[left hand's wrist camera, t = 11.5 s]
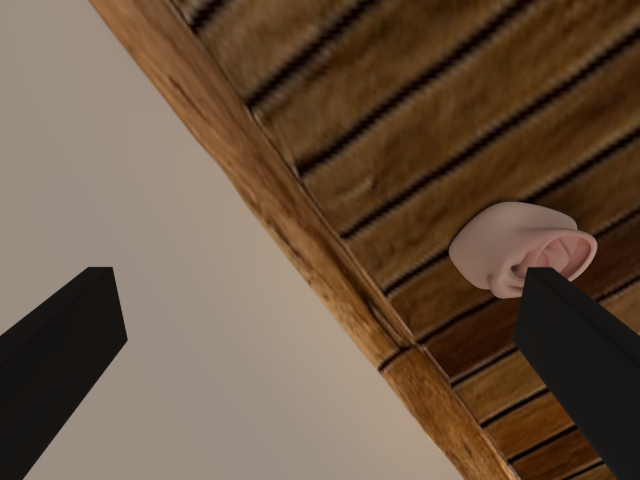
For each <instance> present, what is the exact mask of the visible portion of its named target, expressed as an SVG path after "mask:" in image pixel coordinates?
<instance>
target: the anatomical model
mask: <svg viewBox="0 0 640 480" xmlns="http://www.w3.org/2000/svg"><path fill="white" fill-rule="evenodd" d="M596 250H597V242H596V240H595V239H594V238H593V237H592V236H591V235H589V234H587V233H585V232H582V231H579V230H577V225H576V223H575V221H574V220H573V219H572V218H571V217H569V216H567V215H565V214H563V213H561V212H558V211H555V210H552V209H549V208H546V207H542V206H538V205H533V204H528V203H522V202H502V203H498V204H495V205H493V206H491V207H489V208H487V209H485V210H484V211H482V212H481V213H479V214H478V215H477V216H476V217H474V218H473V219H472V220H471V221H470V222H469V223H468V224H467V225H466V226H465V227H464V228H463V229H462V230H461V231H460V232H459V233H458V235H457V236H456V237H455V239H454V240H453V242H452V243H451V245H450V248H449V256H450V258H451V260H452V262H453V263H454V265H455V266H456V267H457V269H458V270H459V271H460V272H461V274H462V275H463V276H464V277H465V278H466V279H467V280H468V281H470V282H471V283H472V284H473V285H475V286H476V287H478V288H481V289H491V291H492V293H493V294H494V295H495V296H496V297H498V298H512V297H521V296H522V291H523V286H524V282H525V277H526V272H527V267H552V268H554V269H555V270H556V271H558V272H559V273H560V274H561V275H563V276H564V277H565V278H566V279H568V280H569V281H570V282H571V281H572V280H574V279H575V278H576V277H578V276H579V275H580V274H581V273H582V272H583V271H584V270H585V269H586V268H587V267H588V265H589V264H590V262H591V261H592V259H593V258H594V255H595V253H596Z"/></svg>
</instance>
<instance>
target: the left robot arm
mask: <svg viewBox="0 0 640 480" xmlns="http://www.w3.org/2000/svg"><path fill="white" fill-rule="evenodd" d="M127 341H128V339H127V334H126V329H125V325H124V320H123V315H122V310H121V305H120V301H119V296H118V291H117V286H116V282H115V277H114V272H113V267H88V268H86V269H85V270H84V271H83V272H81V273H80V274H79V275H77V276H76V277H75V278H74V279H72V280H71V281H70V282H68V283H67V284H66V285H65V286H63V287H62V288H61V289H60V290H58V291H57V292H56V293H54V294H53V295H52V296H51V297H49V298H48V299H47V300H45V301H44V302H43V303H42V304H40V305H39V306H38V307H37V308H35V309H34V310H33V311H32V312H30V313H29V314H28V315H26V316H25V317H24V318H23V319H21V320H20V321H19V322H17V323H16V324H15V325H14V326H12V327H11V328H10V329H9V330H7V331H6V332H5V333H3V334H2V335H1V336H0V480H23V479H24V477H25V476H26V475H27V473H28V472H29V471H30V469H31V468H32V467H33V465H34V464H35V463H36V461H37V460H38V459H39V457H40V456H41V455H42V453H43V452H44V451H45V449H46V448H47V447H48V445H49V444H50V443H51V441H52V440H53V439H54V437H55V436H56V435H57V433H58V432H59V431H60V429H61V428H62V427H63V425H64V424H65V423H66V422H67V420H68V419H69V418H70V416H71V415H72V414H73V412H74V411H75V410H76V408H77V407H78V406H79V404H80V403H81V402H82V400H83V399H84V398H85V396H86V395H87V394H88V392H89V391H90V390H91V388H92V387H93V386H94V384H95V383H96V382H97V380H98V379H99V378H100V376H101V375H102V374H103V372H104V371H105V370H106V368H107V367H108V366H109V364H110V363H111V362H112V361H113V359H114V358H115V356H116V355H117V354H118V352H119V351H120V350H121V349H122V347H123V346H124V345H125V343H126V342H127ZM512 341H513V342H514V343H515V345H516V346H517V347H518V349H519V350H520V351H521V353H522V354H523V355H524V357H525V358H526V359H527V361H528V362H529V363H530V364H531V366H532V367H533V368H534V370H535V371H536V372H537V374H538V375H539V376H540V378H541V379H542V380H543V382H544V383H545V384H546V386H547V387H548V388H549V390H550V391H551V392H552V394H553V395H554V396H555V398H556V399H557V400H558V402H559V403H560V404H561V406H562V407H563V408H564V410H565V411H566V412H567V414H568V415H569V416H570V418H571V419H572V420H573V422H574V423H575V424H576V425H577V427H578V428H579V429H580V431H581V432H582V433H583V435H584V436H585V437H586V439H587V440H588V441H589V443H590V444H591V445H592V447H593V448H594V449H595V451H596V452H597V453H598V455H599V456H600V457H601V459H602V460H603V461H604V463H605V464H606V465H607V467H608V468H609V469H610V471H611V472H612V473H613V475H614V476H615V477H616V479H617V480H640V336H639V335H638V334H637V333H635V332H634V331H633V330H632V329H630V328H629V327H628V326H626V325H625V324H624V323H623V322H621V321H620V320H619V319H617V318H616V317H615V316H614V315H612V314H611V313H610V312H609V311H607V310H606V309H605V308H603V307H602V306H601V305H600V304H598V303H597V302H596V301H595V300H593V299H592V298H591V297H589V296H588V295H587V294H586V293H584V292H583V291H582V290H580V289H579V288H578V287H577V286H575V285H574V284H573V283H572V282H570V281H569V280H568V279H566V278H565V277H564V276H563V275H561V274H560V273H559V272H558V271H556V270H555V269H554V268H552V267H527V272H526V277H525V282H524V286H523V291H522V296H521V301H520V305H519V310H518V315H517V320H516V325H515V329H514V334H513V339H512Z"/></svg>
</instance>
